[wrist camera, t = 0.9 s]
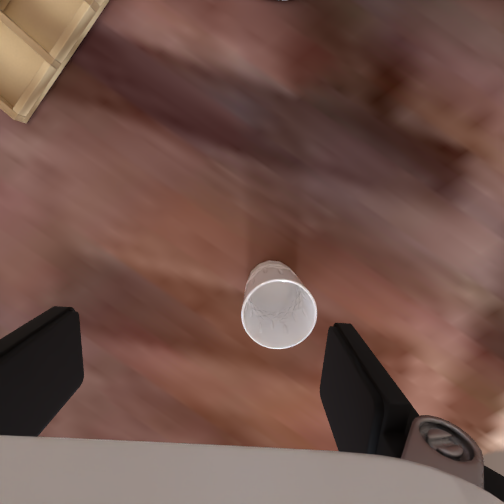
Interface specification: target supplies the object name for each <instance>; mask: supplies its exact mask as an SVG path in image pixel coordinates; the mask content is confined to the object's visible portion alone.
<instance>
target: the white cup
mask: <svg viewBox="0 0 504 504" xmlns="http://www.w3.org/2000/svg"><path fill="white" fill-rule="evenodd" d="M241 317H242V323H243V326H244V329H245V331H246V332H247V334H248V335H249V336H250V337H251V338H252V339H253V340H254V341H255V342H257V343H258V344H260V345H262V346H264V347H268V348H272V349H284V348H289V347H292V346H295V345H297V344H299V343H300V342H302V341H303V340H304V339H305V338H306V337H307V336H308V335H309V334H310V333H311V331H312V330H313V328H314V326H315V323H316V319H317V307H316V303H315V300H314V298H313V296H312V295H311V293H310V292H309V291H308V289H307V288H306V287H305V285H304V284H303V283H302V281H301V280H300V279H299V278H298V277H297V275H296V274H295V273H294V272H293V271H292V270H291V269H290V268H289V267H288V266H286V265H285V264H283V263H281V262H279V261H266V262H263V263H260V264H258V265H257V266H256V267H255V268H254V269H253V270H252V271H251V272H250V275H249V278H248V281H247V284H246V288H245V292H244V299H243V305H242V312H241Z"/></svg>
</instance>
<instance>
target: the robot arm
mask: <svg viewBox="0 0 504 504" xmlns="http://www.w3.org/2000/svg"><path fill="white" fill-rule="evenodd" d="M284 1H287V0H284ZM83 378H84V369H83V357H82V345H81V333H80V321H79V314H78V312H75V310H74V309H73V308H72V307H57V306H54V307H52V308H50V309H49V310H47V311H46V312H44V313H42V314H41V315H39V316H37V317H36V318H34V319H33V320H31V321H29V322H28V323H26V324H24V325H23V326H21V327H20V328H18V329H16V330H15V331H13V332H11V333H10V334H8V335H6V336H5V337H3V338H2V339H0V504H504V477H503V476H502V475H500V474H498V473H497V472H495V471H493V470H491V469H490V468H488V467H486V466H484V461H483V455H482V451H481V449H480V448H479V446H478V445H477V443H476V442H475V441H474V440H473V439H472V438H471V437H470V436H469V435H468V434H467V433H466V432H464V431H463V430H462V429H460V428H459V427H457V426H456V425H454V424H452V423H450V422H449V421H446V420H444V419H441V418H439V417H434V416H430V415H421V416H419V414H418V413H417V412H416V410H415V409H414V408H413V406H412V405H411V403H410V402H409V401H408V399H407V398H406V397H405V395H404V394H403V393H402V391H401V390H400V389H399V387H398V386H397V385H396V383H395V382H394V381H393V379H392V378H391V377H390V375H389V374H388V373H387V371H386V370H385V369H384V367H383V366H382V365H381V363H380V362H379V361H378V359H377V358H376V357H375V355H374V354H373V352H372V351H371V350H370V348H369V347H368V346H367V344H366V343H365V342H364V340H363V339H362V338H361V336H360V335H359V334H358V332H357V331H356V330H355V328H354V327H353V326H352V325H351V324H346V323H335V324H334V326H333V327H332V326H330V327H329V330H328V336H327V343H326V350H325V357H324V363H323V370H322V377H321V384H320V397H321V400H322V403H323V406H324V409H325V412H326V415H327V418H328V421H329V424H330V427H331V430H332V433H333V436H334V439H335V441H336V444H337V447H338V450H339V451H326V450H307V449H288V448H268V447H249V446H230V445H208V444H186V443H165V442H144V441H122V440H99V439H78V438H56V437H37V436H38V435H39V434H40V433H41V432H42V431H43V429H44V428H45V427H46V426H47V425H48V423H49V422H50V421H51V420H52V419H53V418H54V416H55V415H56V414H57V413H58V412H59V410H60V409H61V408H62V407H63V406H64V405H65V403H66V402H67V401H68V400H69V399H70V397H71V396H72V395H73V394H74V393H75V392H76V390H77V389H78V388H79V387H80V385H81V384H82V382H83Z"/></svg>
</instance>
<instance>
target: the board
mask: <svg viewBox="0 0 504 504" xmlns="http://www.w3.org/2000/svg"><path fill="white" fill-rule="evenodd" d="M108 2H109V0H0V108H1V109H2V110H3V111H4V112H5V113H7V114H8V115H9V116H10V117H11V118H13V119H14V120H17V121H20V122H23V123H27V122H28V120H29V119H30V117H31V116H32V114H33V113H34V111H35V110H36V108H37V107H38V105H39V104H40V102H41V101H42V99H43V98H44V96H45V95H46V93H47V92H48V91H49V89H50V88H51V86H52V85H53V83H54V82H55V80H56V79H57V77H58V76H59V74H60V73H61V71H62V70H63V68H64V67H65V65H66V64H67V62H68V61H69V59H70V58H71V57H72V55H73V54H74V52H75V51H76V49H77V48H78V46H79V45H80V43H81V42H82V40H83V39H84V37H85V36H86V34H87V33H88V31H89V30H90V28H91V27H92V25H93V24H94V23H95V21H96V20H97V18H98V17H99V15H100V14H101V12H102V11H103V9H104V8H105V6H106V5H107V3H108Z"/></svg>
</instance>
